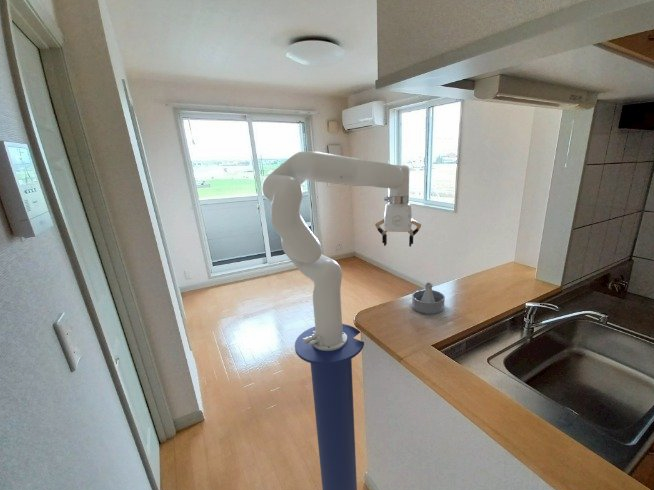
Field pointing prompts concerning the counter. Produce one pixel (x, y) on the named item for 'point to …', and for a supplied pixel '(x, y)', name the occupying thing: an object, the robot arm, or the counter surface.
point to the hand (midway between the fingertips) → (397, 245)
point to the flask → (428, 294)
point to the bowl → (428, 307)
